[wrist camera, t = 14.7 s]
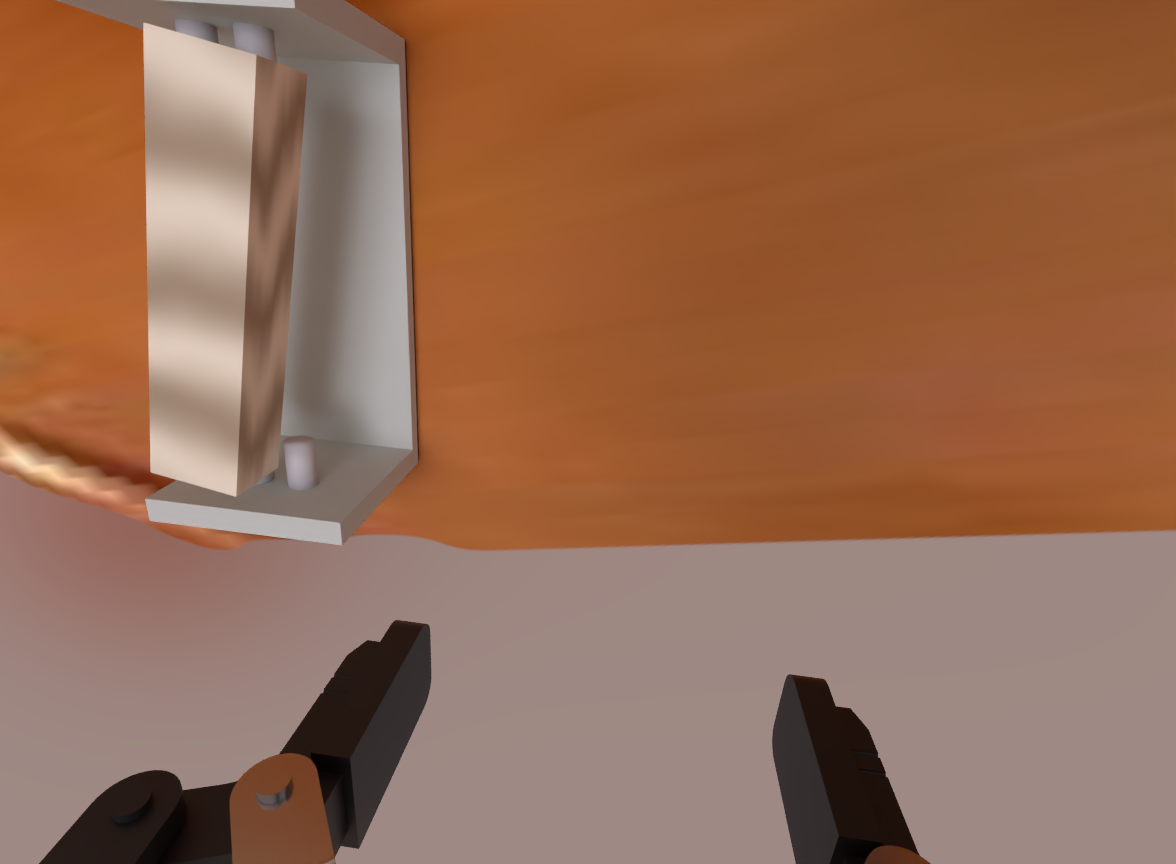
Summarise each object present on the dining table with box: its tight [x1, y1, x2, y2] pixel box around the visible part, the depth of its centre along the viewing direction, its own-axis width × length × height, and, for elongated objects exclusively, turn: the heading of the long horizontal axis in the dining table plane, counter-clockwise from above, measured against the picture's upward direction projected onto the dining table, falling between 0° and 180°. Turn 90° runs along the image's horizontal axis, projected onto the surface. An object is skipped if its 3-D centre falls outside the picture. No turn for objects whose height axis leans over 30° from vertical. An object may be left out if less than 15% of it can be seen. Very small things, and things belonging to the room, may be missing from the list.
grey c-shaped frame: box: [56, 0, 418, 545], centre depth 36 cm, size 28×12×12 cm, turn 176°
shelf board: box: [143, 22, 307, 497], centre depth 31 cm, size 22×5×4 cm, turn 165°
